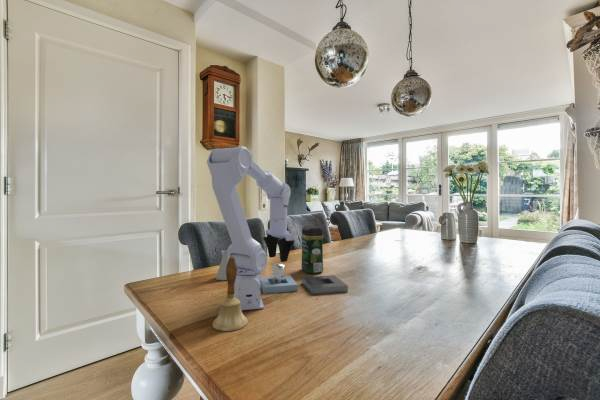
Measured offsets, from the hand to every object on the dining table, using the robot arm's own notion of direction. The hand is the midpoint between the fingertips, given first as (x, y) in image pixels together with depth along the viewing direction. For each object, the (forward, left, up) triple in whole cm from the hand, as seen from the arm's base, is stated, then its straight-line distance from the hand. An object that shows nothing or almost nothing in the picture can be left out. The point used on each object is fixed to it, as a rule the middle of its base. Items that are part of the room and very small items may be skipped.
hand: (277, 259), depth 96 cm
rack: (0, 0, -9) cm, 9 cm away
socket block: (-4, -15, -9) cm, 18 cm away
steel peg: (0, 0, -9) cm, 9 cm away
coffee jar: (+16, -17, -10) cm, 25 cm away
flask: (+14, +17, -10) cm, 24 cm away
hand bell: (-24, +16, -10) cm, 30 cm away
